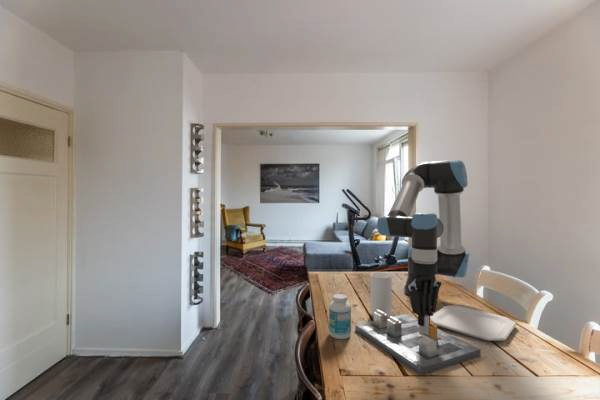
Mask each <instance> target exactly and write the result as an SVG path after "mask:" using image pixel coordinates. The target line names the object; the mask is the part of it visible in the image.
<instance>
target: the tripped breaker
mask: <svg viewBox="0 0 600 400" xmlns="http://www.w3.org/2000/svg"><path fill="white" fill-rule="evenodd" d="M437 329H438V325H436V324H434V323H433V322H432V321H430V324H429V336H430V337H432V338H434V339H437Z"/></svg>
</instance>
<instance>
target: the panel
mask: <svg viewBox="0 0 600 400" xmlns="http://www.w3.org/2000/svg"><path fill="white" fill-rule="evenodd" d="M354 328H355V331H356V332H357V333H358V334H360V335H361V336H362V337H364V338H365V339H367V340H368V341H371V343H373V344H375V345H376V346H377V347H378V348H380V349H382V350H383V351H384V352H386V353H387V354H389V355H390V356H392V357H394V359H396V360H398V361H399V362H400V363H402V364H403V365H404V366H406V367H407V368H409V369H411V370H412V371H413V372H415V373H416V374H418V375H419V376H421V377H422V376H424V375H426V374H430V373H432V372H435V371H439V370H442V369H444V368H448V367H450V366H455V365H457V364H459V363H463V362H466V361H469V360H472V359H475V358H478V357H481V348H479V347H478V346H477V347H476V346H475V345H473V344H471V343H469V342H466V341H465V340H462V339H460V338H458V337H457V336H454V335H451V334H450V333H448V332H445V331H443V330H441V329H439V328H437V339H434V338H432V337H430V336H428V335H426V334H424V333H423V334H422V335H420V334H419V325H418V318H416V317H414V316H413V315H410V314H408V313H405V314H401V315H400V314H399V315H395V316H392V315H391V316H390V317H389V318H387V314H385V313H384V312H382V311H380V310H378V309H377V310H376V312H374V316H373V320H371V321H366V322H361V323H357V324H356V323H355V325H354Z"/></svg>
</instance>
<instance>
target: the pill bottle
mask: <svg viewBox="0 0 600 400" xmlns="http://www.w3.org/2000/svg"><path fill="white" fill-rule="evenodd" d="M332 299H333V300H332V301H331V302H330V303H329V305H328V307H329V308H328V315H329V316H328V318H329V320H328V325H329V326H328V334H329V335H330V337H331V338H334V339H337V340H346V339H349V338H350V337H351V334H352V306H351V304H350V303H349V302H348V296H347V295H345V294H343V293H342V294H341V293H336V294H334V295H333V296H332Z"/></svg>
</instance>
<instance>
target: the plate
mask: <svg viewBox="0 0 600 400" xmlns="http://www.w3.org/2000/svg"><path fill="white" fill-rule="evenodd" d="M432 314H433V316H430V322H432V323H434V324H435V325H436V326H437V327H440V328H442V329H445V330H448V331H452V332H455V333H459V334H463V335H466V336H469V337H472V338H476V339H479V340H482V341H485V342H487V341H489V342H490V341H492V342H495V341H496V342H497V341H499V342H500V341H506V340H507V339H508V337H510V335H511V333H512V332H513V330H514V329H515V327H516V326H517V323H516V321H514V320H512V319H510V318H509V317H507V316H503V315H498V314H495V313H491V312H486V311H482V310H478V309H474V308H469V307H465V306H462V305H461V306H460V305H445V306H443V307H442V308H440V309H439V310H436V311H435V312H433V313H432Z"/></svg>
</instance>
